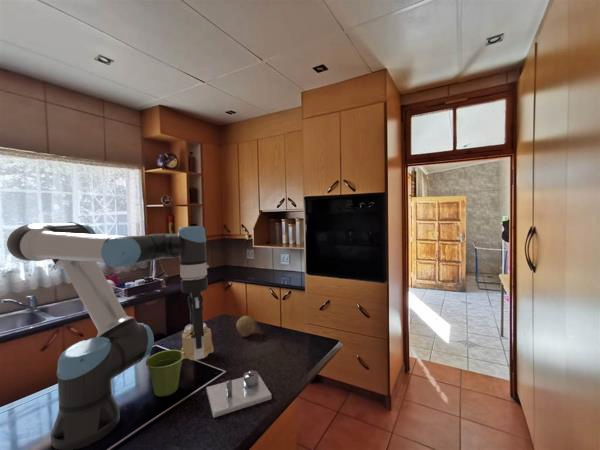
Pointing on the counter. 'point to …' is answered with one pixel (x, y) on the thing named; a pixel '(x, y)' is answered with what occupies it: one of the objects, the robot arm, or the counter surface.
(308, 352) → the counter surface
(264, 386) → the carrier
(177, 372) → the plant pot
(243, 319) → the natural sponge
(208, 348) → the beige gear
